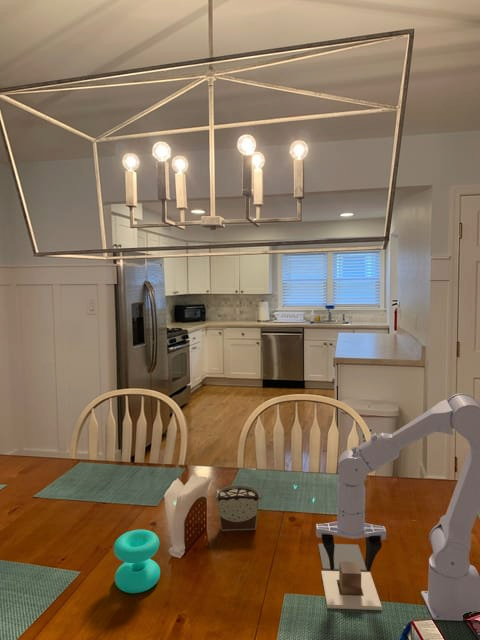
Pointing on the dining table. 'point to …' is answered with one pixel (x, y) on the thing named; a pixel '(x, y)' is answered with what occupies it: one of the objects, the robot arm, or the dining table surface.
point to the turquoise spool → (137, 561)
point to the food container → (238, 507)
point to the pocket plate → (349, 601)
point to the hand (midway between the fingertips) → (349, 567)
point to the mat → (342, 556)
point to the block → (350, 578)
